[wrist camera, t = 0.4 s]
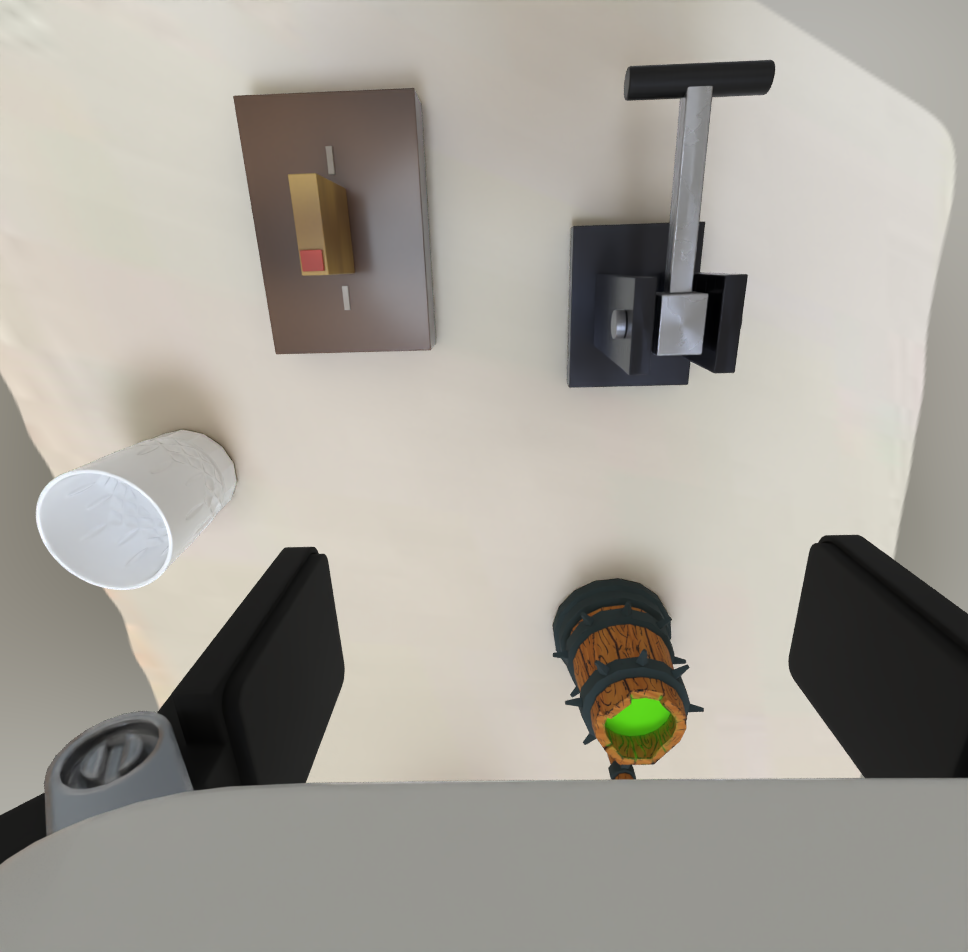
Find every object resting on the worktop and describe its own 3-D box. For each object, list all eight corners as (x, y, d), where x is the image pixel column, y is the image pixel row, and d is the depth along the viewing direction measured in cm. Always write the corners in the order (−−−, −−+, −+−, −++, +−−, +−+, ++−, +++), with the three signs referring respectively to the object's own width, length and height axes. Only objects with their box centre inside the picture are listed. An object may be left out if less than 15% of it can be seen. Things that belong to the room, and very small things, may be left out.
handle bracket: (570, 227, 35) (604, 209, 24) (698, 223, 34) (793, 203, 23) (566, 384, 38) (594, 432, 27) (682, 381, 38) (758, 429, 27)
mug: (554, 572, 44) (572, 673, 33) (682, 578, 44) (742, 682, 33) (541, 699, 48) (553, 824, 38) (656, 705, 48) (702, 832, 37)
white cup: (220, 411, 39) (134, 456, 30) (261, 507, 42) (193, 577, 33) (122, 434, 40) (8, 485, 31) (168, 527, 43) (76, 600, 34)
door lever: (621, 76, 24) (634, 56, 22) (758, 70, 24) (785, 50, 22) (607, 349, 29) (616, 356, 26) (723, 346, 28) (742, 353, 26)
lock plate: (255, 109, 33) (231, 94, 30) (421, 103, 32) (414, 86, 29) (292, 347, 38) (274, 354, 35) (436, 343, 37) (430, 350, 34)
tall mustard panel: (321, 188, 31) (285, 173, 26) (345, 188, 31) (314, 172, 26) (332, 274, 33) (300, 275, 28) (355, 273, 33) (327, 275, 28)
